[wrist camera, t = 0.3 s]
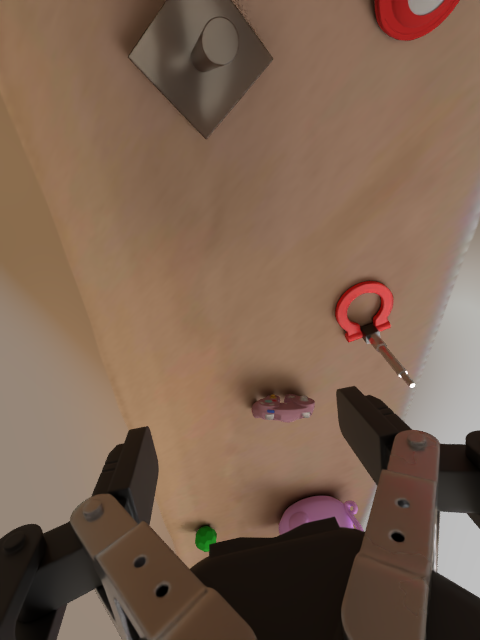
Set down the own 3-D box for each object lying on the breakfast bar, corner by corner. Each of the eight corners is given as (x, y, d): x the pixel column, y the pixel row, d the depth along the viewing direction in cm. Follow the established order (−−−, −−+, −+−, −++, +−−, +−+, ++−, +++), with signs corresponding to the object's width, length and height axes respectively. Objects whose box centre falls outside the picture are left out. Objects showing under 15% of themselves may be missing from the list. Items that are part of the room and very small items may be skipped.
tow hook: (329, 291, 48) (339, 340, 53) (372, 345, 38) (379, 400, 43) (387, 271, 48) (391, 322, 53) (447, 319, 37) (445, 378, 42)
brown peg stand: (129, 57, 30) (92, 39, 17) (196, -41, 28) (216, -156, 14) (205, 137, 35) (223, 172, 21) (270, 59, 32) (337, 44, 19)
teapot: (322, 467, 74) (348, 537, 62) (364, 500, 85) (393, 564, 74) (241, 512, 79) (252, 583, 68) (292, 537, 91) (308, 601, 79)
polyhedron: (194, 523, 79) (195, 546, 75) (216, 521, 80) (218, 543, 76) (194, 534, 82) (195, 556, 78) (215, 531, 82) (217, 553, 79)
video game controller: (305, 386, 60) (321, 400, 54) (304, 411, 61) (320, 428, 54) (250, 388, 59) (259, 403, 52) (249, 414, 59) (259, 432, 52)
